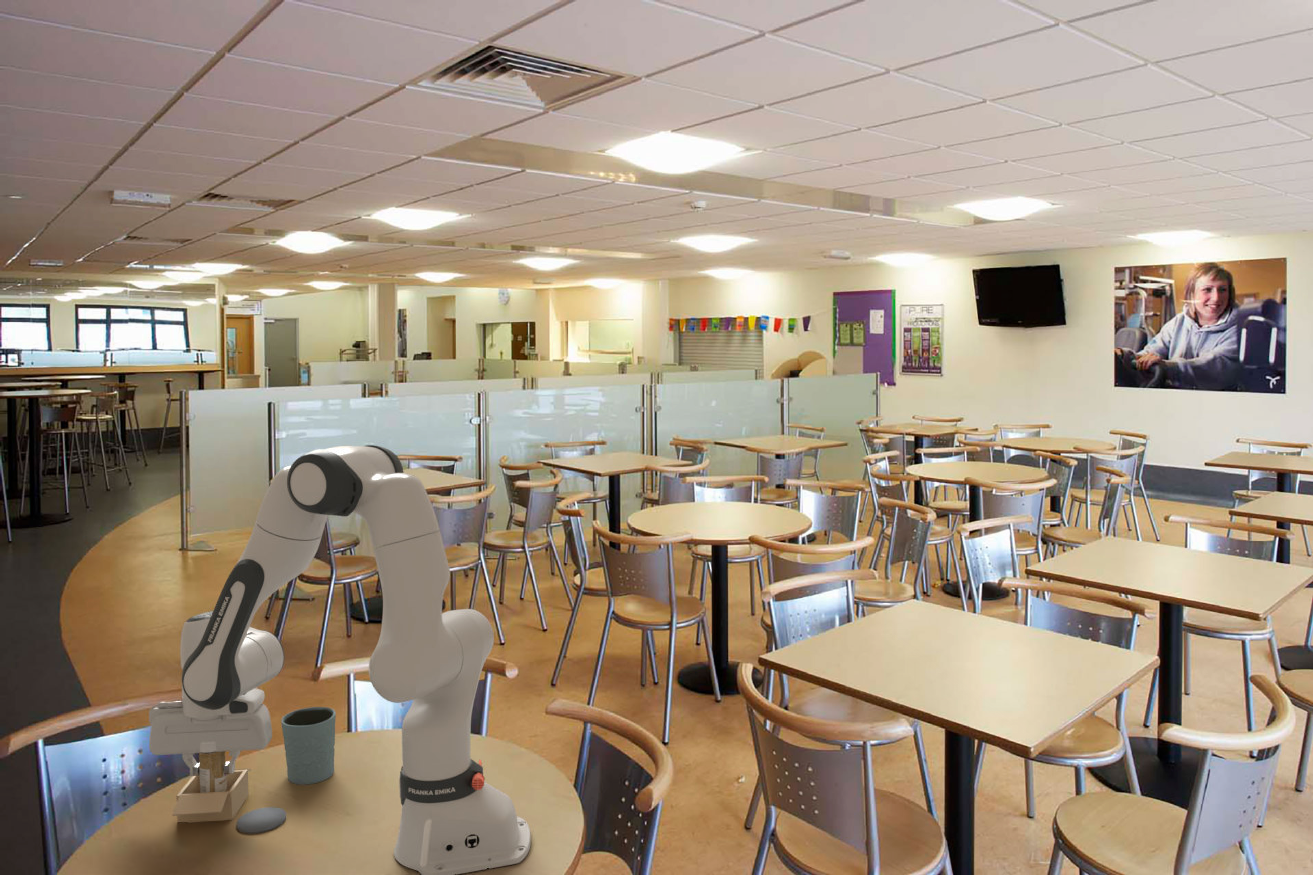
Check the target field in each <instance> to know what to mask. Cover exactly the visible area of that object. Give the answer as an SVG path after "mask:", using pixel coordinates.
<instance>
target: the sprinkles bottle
mask: <svg viewBox="0 0 1313 875" xmlns="http://www.w3.org/2000/svg"><path fill="white" fill-rule="evenodd" d="M216 751H217V749H216V743H215V742H202V743H200V752H201V753H198V757H199V758H198V759H199V762H198V763H199V764H200V766H199V774H200V793H208V792H225V791H227V790H226V789H227V781H226V774H224V769H223V765H224V764H225V763H226V751H224V752H216Z"/></svg>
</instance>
